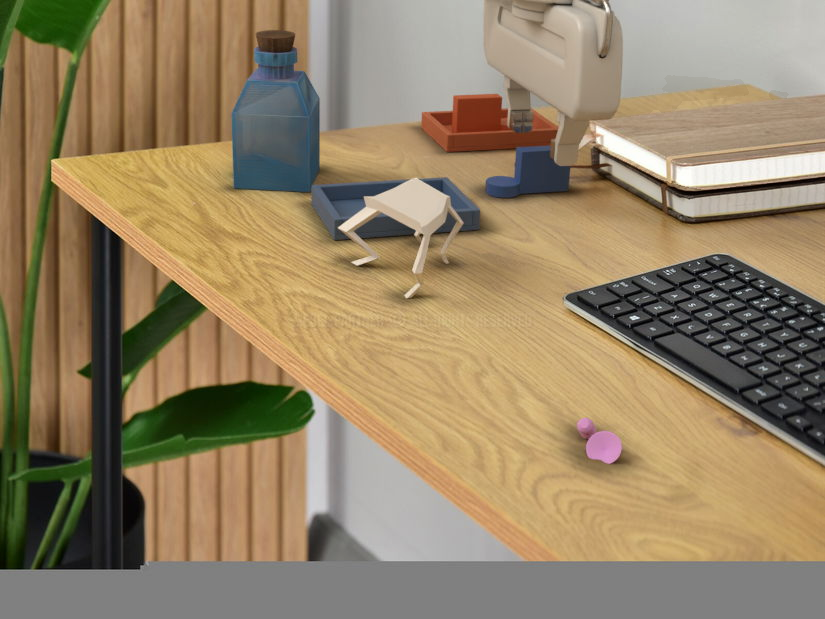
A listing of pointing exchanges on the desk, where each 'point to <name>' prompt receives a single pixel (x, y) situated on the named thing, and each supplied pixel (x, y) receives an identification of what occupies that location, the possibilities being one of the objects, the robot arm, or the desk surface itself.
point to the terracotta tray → (486, 133)
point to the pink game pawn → (599, 442)
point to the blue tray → (349, 200)
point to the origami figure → (407, 219)
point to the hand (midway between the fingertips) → (540, 146)
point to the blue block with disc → (530, 175)
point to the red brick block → (478, 113)
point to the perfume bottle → (276, 121)
